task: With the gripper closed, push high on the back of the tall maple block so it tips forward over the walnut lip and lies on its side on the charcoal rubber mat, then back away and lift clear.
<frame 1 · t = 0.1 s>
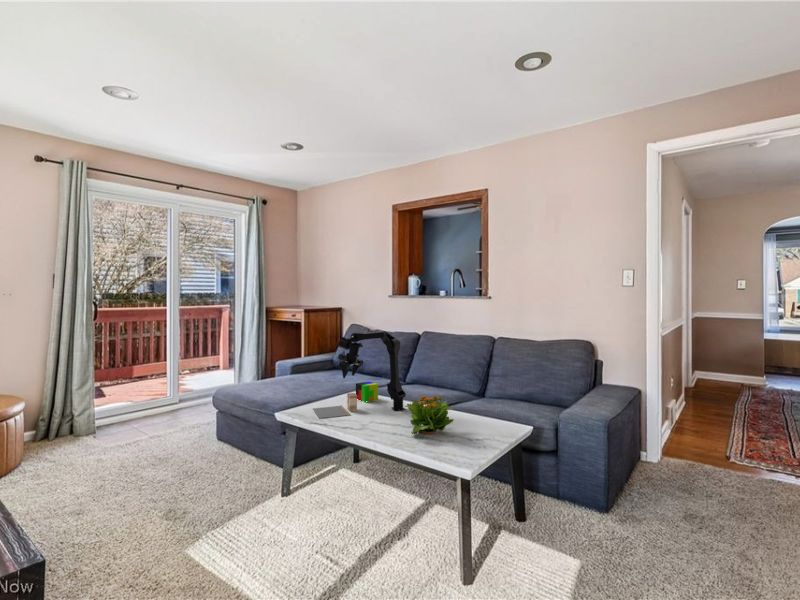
hand: (348, 376, 256), 15 cm above the table, tool pointing down, fingers open, 9 cm apart
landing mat: (331, 412, 233), on the table
maple block: (352, 410, 238), on the table
puzzle toy: (366, 400, 262), on the table
potted flower: (427, 431, 201), on the table
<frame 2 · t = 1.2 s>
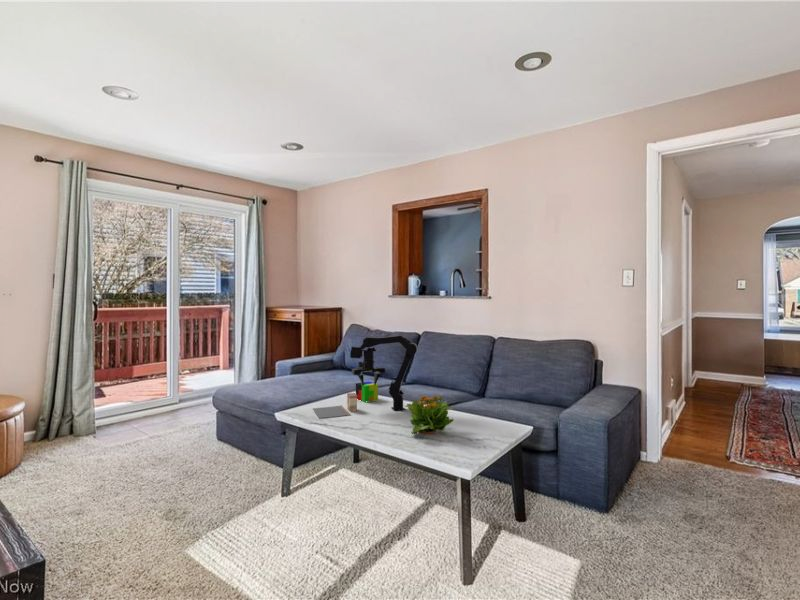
hand: (368, 385, 241), 13 cm above the table, tool pointing down, fingers open, 7 cm apart
nothing on the table moved.
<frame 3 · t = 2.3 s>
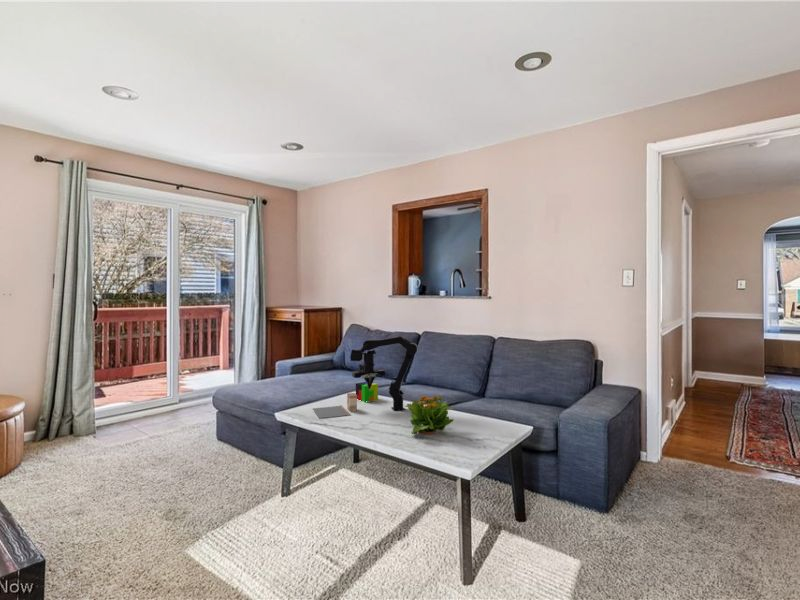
hand: (369, 388, 241), 11 cm above the table, tool pointing down, fingers closed
nothing on the table moved.
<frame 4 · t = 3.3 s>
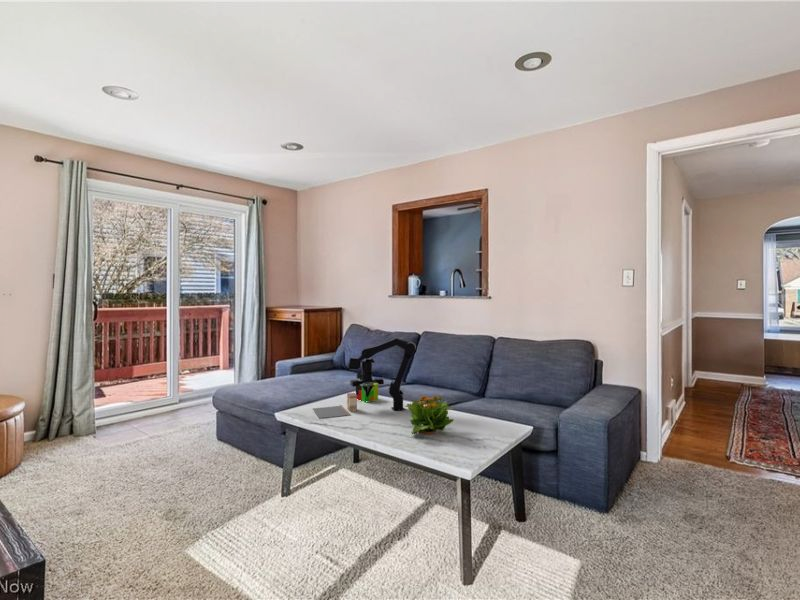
hand: (367, 397, 241), 7 cm above the table, tool pointing down, fingers closed
nothing on the table moved.
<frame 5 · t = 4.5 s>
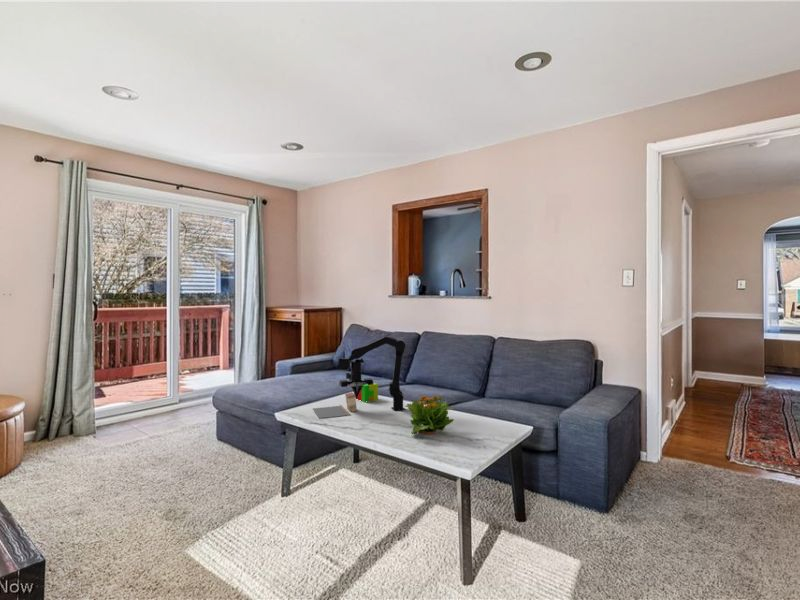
hand: (356, 397, 239), 7 cm above the table, tool pointing down, fingers closed
maple block: (351, 409, 238), on the table, tilted 7°
everything else where it was.
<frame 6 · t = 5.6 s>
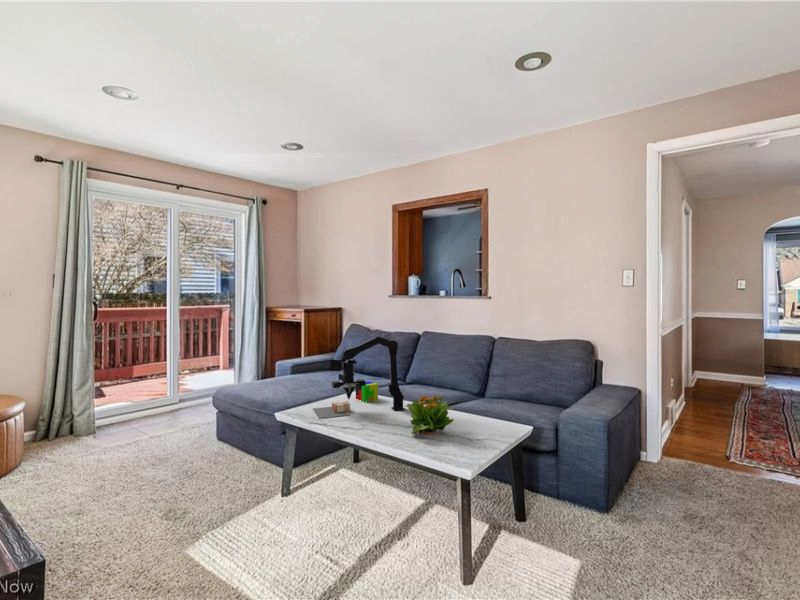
hand: (348, 398, 237), 7 cm above the table, tool pointing down, fingers closed
maple block: (348, 405, 237), point 3 cm above the table, tilted 92°, touching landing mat
everything else where it was.
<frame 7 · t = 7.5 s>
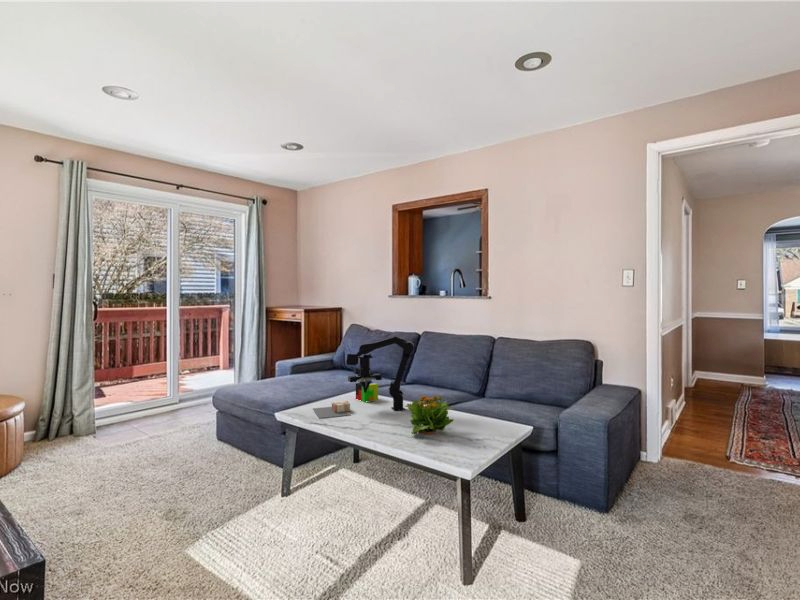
hand: (364, 392, 240), 9 cm above the table, tool pointing down, fingers closed
nothing on the table moved.
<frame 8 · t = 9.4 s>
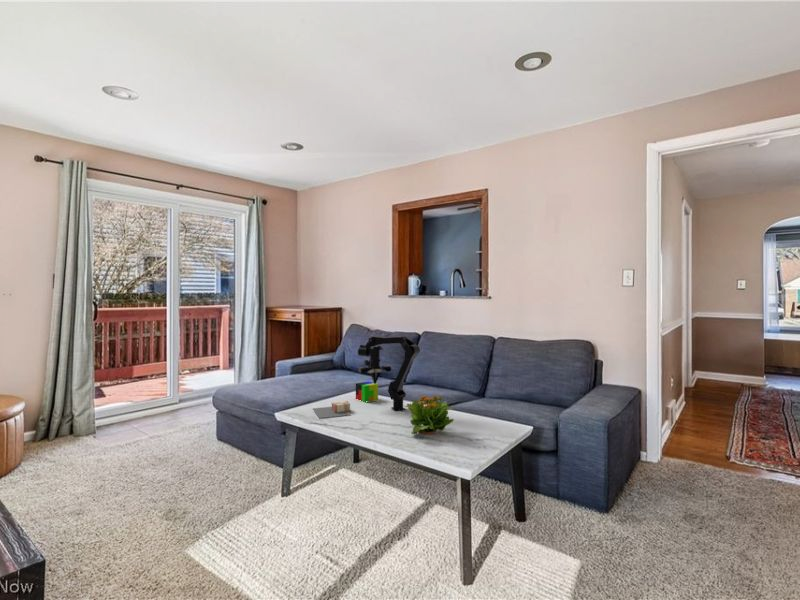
hand: (374, 383, 247), 13 cm above the table, tool pointing down, fingers closed
nothing on the table moved.
at the end: maple block tilted 92°; maple block inside the target area (2.1 cm from its centre), point 2.7 cm above the table; maple block touching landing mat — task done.
